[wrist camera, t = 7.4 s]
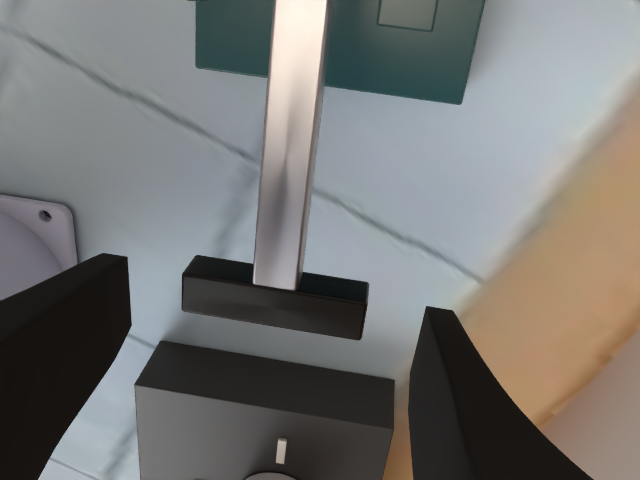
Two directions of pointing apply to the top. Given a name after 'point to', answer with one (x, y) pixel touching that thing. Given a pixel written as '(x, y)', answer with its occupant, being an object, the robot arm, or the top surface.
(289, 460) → the control panel
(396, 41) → the green lever stand
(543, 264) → the top surface
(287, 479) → the dial
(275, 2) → the lever
